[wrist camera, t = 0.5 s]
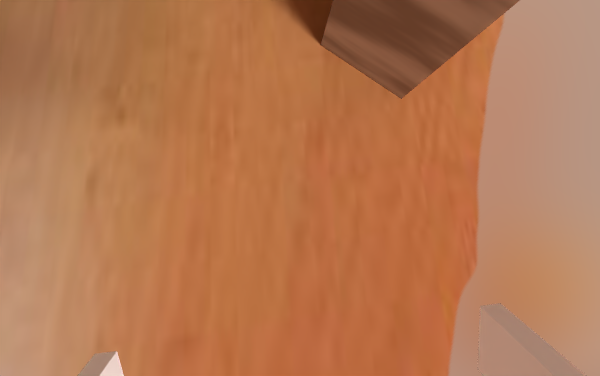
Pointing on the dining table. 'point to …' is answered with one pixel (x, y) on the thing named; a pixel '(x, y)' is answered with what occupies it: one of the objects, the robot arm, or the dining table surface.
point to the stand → (405, 35)
